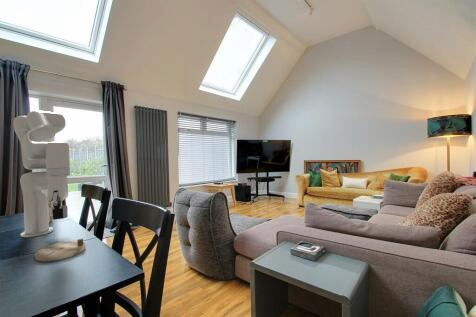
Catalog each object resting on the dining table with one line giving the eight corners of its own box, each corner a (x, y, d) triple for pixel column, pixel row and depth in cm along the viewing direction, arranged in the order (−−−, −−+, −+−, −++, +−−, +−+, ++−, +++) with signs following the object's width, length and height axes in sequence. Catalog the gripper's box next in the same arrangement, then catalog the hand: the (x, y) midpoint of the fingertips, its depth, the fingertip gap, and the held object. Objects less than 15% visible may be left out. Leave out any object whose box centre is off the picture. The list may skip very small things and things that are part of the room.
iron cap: (49, 218, 92) (49, 206, 92) (64, 215, 96) (63, 203, 96) (55, 220, 89) (55, 207, 89) (70, 216, 94) (69, 204, 94)
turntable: (60, 243, 102) (59, 234, 102) (93, 244, 100) (93, 235, 100) (23, 260, 86) (23, 250, 86) (63, 261, 85) (62, 251, 84)
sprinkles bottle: (53, 220, 141) (52, 198, 140) (51, 222, 137) (50, 199, 136) (44, 221, 139) (43, 199, 138) (41, 223, 135) (40, 200, 134)
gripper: (53, 171, 98) (54, 213, 99) (39, 174, 83) (41, 224, 84) (74, 170, 102) (75, 211, 102) (64, 173, 86) (66, 221, 87)
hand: (60, 216), depth 93 cm, fingers closed on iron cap, 5 cm apart
